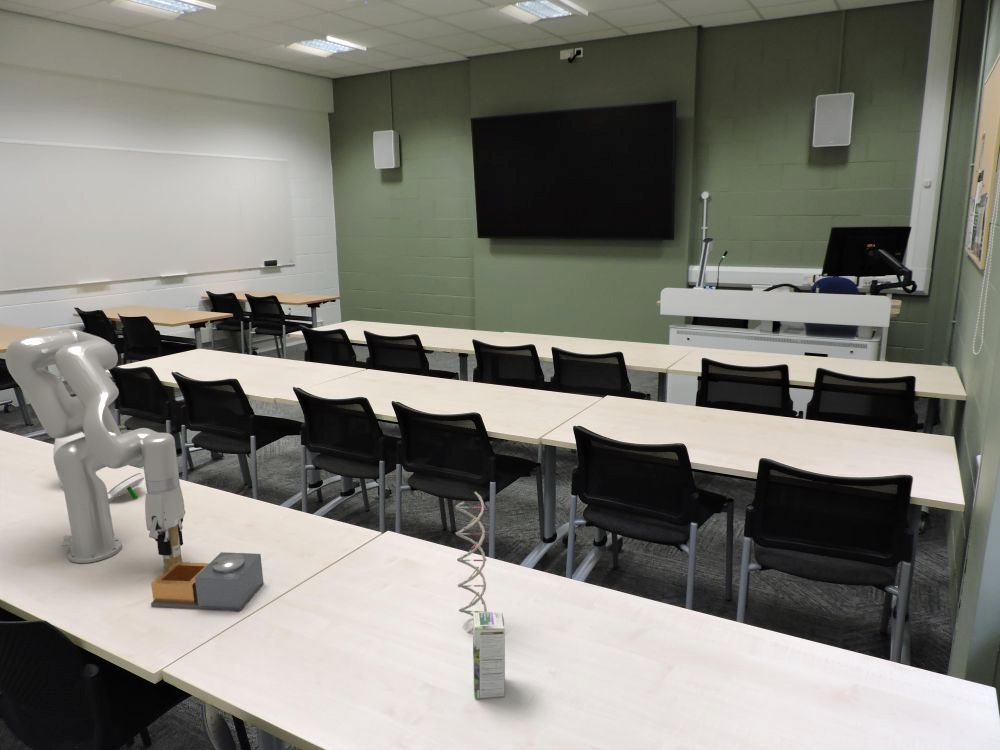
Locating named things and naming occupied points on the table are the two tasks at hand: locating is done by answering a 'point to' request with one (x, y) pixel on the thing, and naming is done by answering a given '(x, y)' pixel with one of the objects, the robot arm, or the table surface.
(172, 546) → the spice jar
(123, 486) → the tabbed white plastic disc
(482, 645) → the syrup box
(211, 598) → the grey orange box device
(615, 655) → the table surface
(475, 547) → the dna model
